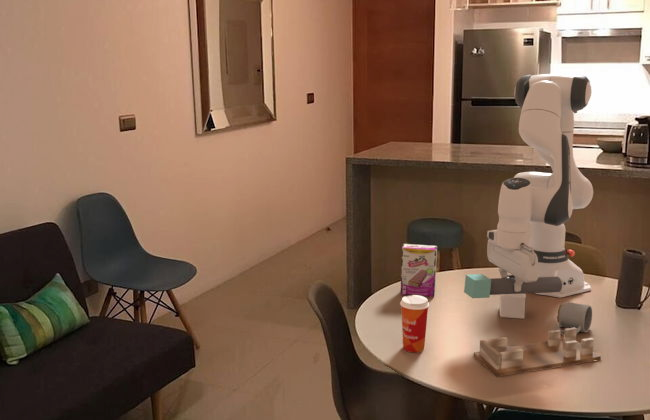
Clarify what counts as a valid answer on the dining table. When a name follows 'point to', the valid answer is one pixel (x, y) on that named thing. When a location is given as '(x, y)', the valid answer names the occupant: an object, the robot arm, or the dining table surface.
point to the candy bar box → (418, 270)
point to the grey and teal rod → (507, 286)
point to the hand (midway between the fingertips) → (510, 287)
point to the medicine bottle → (512, 304)
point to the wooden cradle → (535, 353)
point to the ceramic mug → (574, 316)
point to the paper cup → (414, 322)
